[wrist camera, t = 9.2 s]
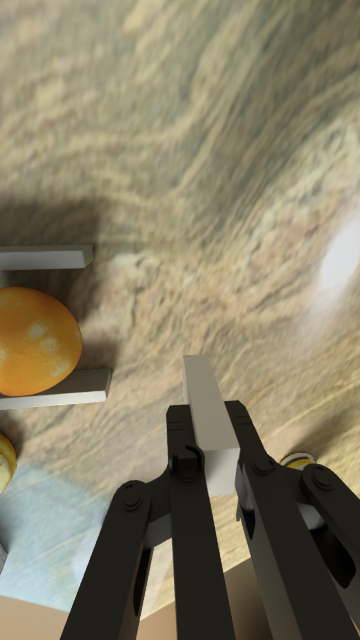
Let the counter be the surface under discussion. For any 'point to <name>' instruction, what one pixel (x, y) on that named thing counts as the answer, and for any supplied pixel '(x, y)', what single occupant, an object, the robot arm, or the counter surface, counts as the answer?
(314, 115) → the counter surface
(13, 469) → the decorated donut
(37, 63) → the counter surface
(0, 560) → the medicine box
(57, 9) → the counter surface
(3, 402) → the flagpole corner frame
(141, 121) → the counter surface
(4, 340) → the fruit
